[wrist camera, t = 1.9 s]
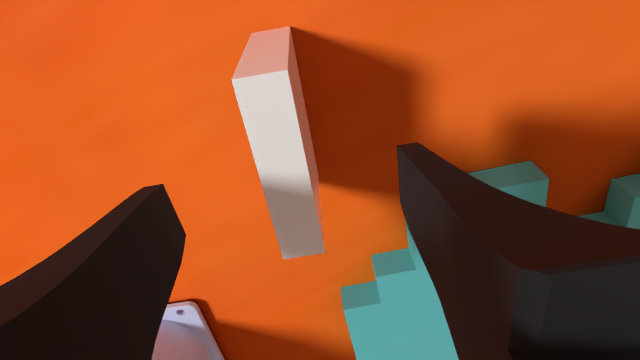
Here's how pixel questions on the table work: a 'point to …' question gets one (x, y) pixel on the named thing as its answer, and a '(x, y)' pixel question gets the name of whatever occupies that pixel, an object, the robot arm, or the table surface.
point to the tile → (281, 139)
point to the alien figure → (417, 287)
